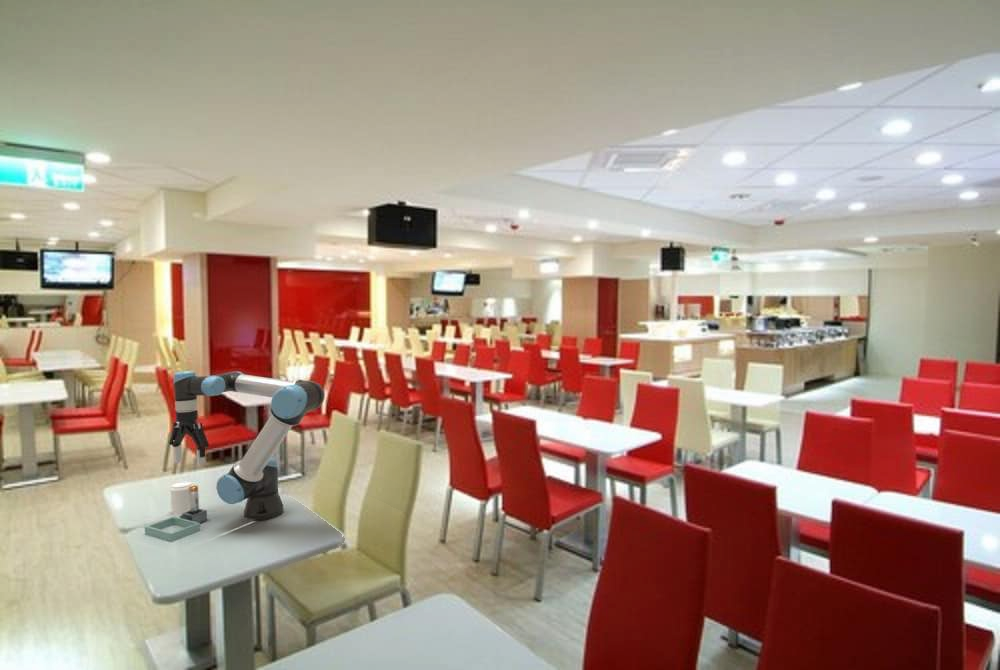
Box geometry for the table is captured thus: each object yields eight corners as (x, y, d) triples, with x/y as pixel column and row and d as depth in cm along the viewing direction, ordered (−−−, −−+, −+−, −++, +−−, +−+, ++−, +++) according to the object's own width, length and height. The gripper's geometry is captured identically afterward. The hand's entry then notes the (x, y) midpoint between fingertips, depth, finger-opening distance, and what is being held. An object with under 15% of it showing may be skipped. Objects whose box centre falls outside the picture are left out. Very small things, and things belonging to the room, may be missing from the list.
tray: (200, 532, 203) (200, 523, 203) (171, 544, 194) (171, 533, 194) (174, 526, 211) (173, 516, 211) (145, 536, 201) (144, 526, 201)
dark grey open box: (211, 522, 214) (210, 509, 214) (191, 529, 207) (191, 516, 206) (192, 517, 219) (191, 505, 219) (172, 524, 212) (171, 512, 212)
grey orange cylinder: (201, 521, 213) (199, 486, 212) (193, 523, 210) (192, 488, 209) (196, 519, 214) (194, 485, 214) (188, 522, 211) (186, 487, 211)
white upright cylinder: (198, 509, 229) (197, 481, 228) (185, 516, 221) (184, 487, 220) (180, 508, 230) (179, 481, 229) (167, 516, 221) (165, 487, 221)
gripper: (216, 410, 210) (220, 463, 211) (175, 407, 221) (178, 458, 221) (199, 413, 203) (202, 469, 204) (157, 411, 214) (160, 463, 215)
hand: (190, 464), depth 213 cm, fingers open, 13 cm apart
